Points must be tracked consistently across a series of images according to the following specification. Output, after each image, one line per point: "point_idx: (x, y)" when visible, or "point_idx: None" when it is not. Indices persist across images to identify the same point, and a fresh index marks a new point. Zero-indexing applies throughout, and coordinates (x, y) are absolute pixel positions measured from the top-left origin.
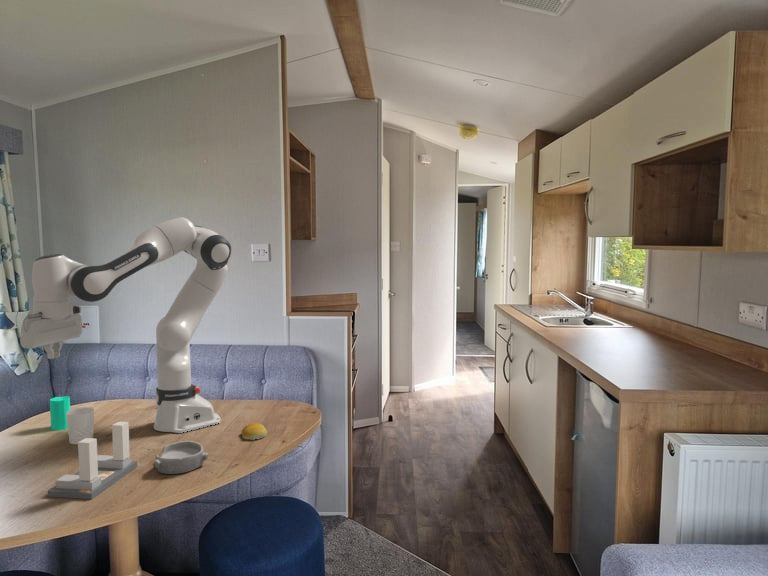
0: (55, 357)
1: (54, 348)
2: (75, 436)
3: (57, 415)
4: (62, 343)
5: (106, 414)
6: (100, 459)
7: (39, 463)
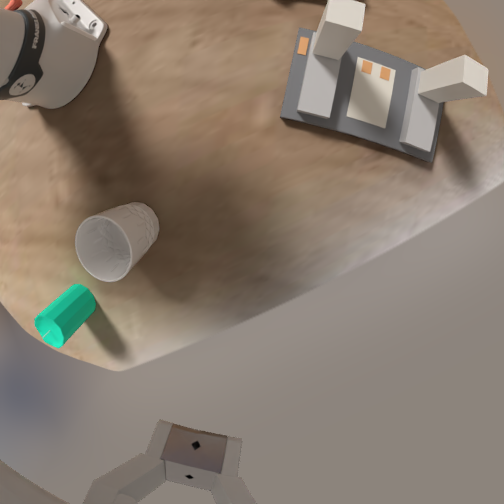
0: (207, 432)
1: (149, 489)
2: (152, 231)
3: (78, 314)
4: (93, 490)
5: (19, 245)
6: (328, 92)
7: (265, 252)
